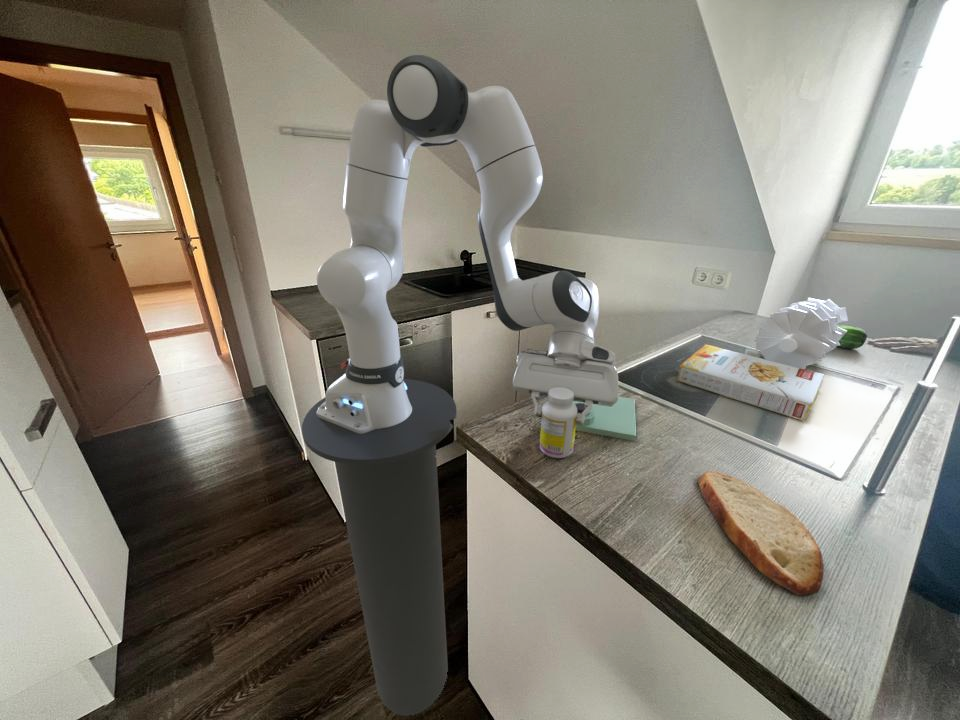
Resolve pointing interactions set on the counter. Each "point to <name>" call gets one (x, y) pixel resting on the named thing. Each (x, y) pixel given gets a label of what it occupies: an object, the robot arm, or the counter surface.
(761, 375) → the cereal box
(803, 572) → the bread slice
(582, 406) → the button
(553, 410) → the supplement bottle
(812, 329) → the spiral staircase
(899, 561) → the counter surface
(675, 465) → the counter surface
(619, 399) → the scale
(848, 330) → the vegetable
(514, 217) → the robot arm
